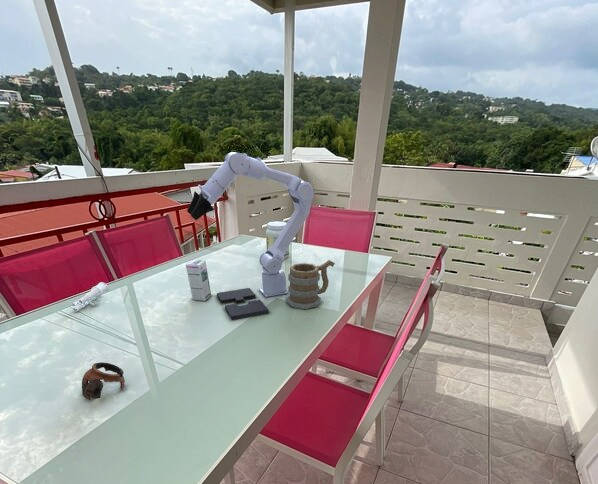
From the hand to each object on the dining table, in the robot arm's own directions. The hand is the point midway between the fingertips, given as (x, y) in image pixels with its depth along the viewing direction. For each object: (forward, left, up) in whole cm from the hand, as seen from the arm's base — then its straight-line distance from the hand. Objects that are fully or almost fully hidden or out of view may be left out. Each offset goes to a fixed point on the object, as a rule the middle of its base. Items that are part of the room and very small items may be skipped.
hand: (191, 215), depth 111 cm
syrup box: (0, -6, -32) cm, 33 cm away
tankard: (-40, +14, -32) cm, 53 cm away
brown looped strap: (+35, +44, -32) cm, 65 cm away
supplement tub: (-49, -45, -32) cm, 74 cm away
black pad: (-13, 0, -32) cm, 34 cm away
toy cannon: (+40, -16, -32) cm, 54 cm away
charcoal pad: (-13, +13, -32) cm, 37 cm away
